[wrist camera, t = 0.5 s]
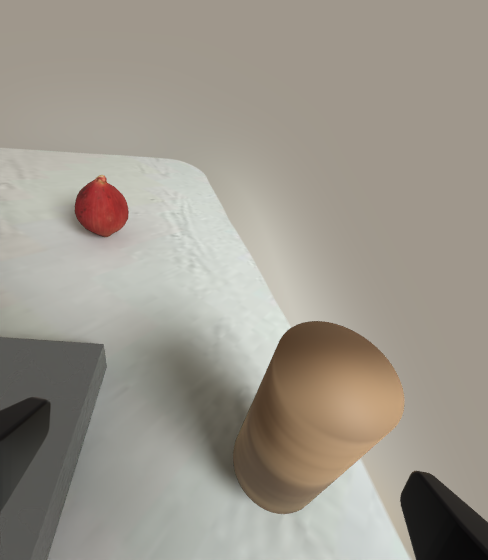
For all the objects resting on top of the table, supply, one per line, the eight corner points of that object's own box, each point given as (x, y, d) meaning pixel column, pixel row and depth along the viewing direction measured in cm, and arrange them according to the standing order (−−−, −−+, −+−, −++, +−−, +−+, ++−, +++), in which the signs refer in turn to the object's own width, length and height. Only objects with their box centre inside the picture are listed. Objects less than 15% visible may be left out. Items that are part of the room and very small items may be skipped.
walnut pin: (316, 523, 21) (430, 440, 12) (227, 526, 19) (288, 438, 11) (298, 430, 25) (373, 326, 17) (225, 429, 24) (267, 316, 16)
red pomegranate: (78, 249, 36) (67, 185, 31) (80, 223, 40) (70, 162, 35) (130, 248, 38) (128, 188, 33) (127, 223, 42) (125, 166, 37)
